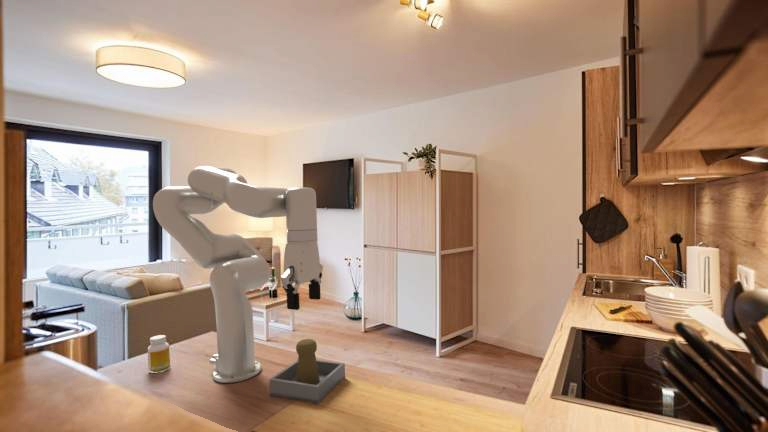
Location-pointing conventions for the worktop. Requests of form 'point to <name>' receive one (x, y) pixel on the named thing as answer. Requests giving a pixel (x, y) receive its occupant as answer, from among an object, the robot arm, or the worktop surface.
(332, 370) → the box
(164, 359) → the supplement bottle
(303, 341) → the cork
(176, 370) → the worktop surface
